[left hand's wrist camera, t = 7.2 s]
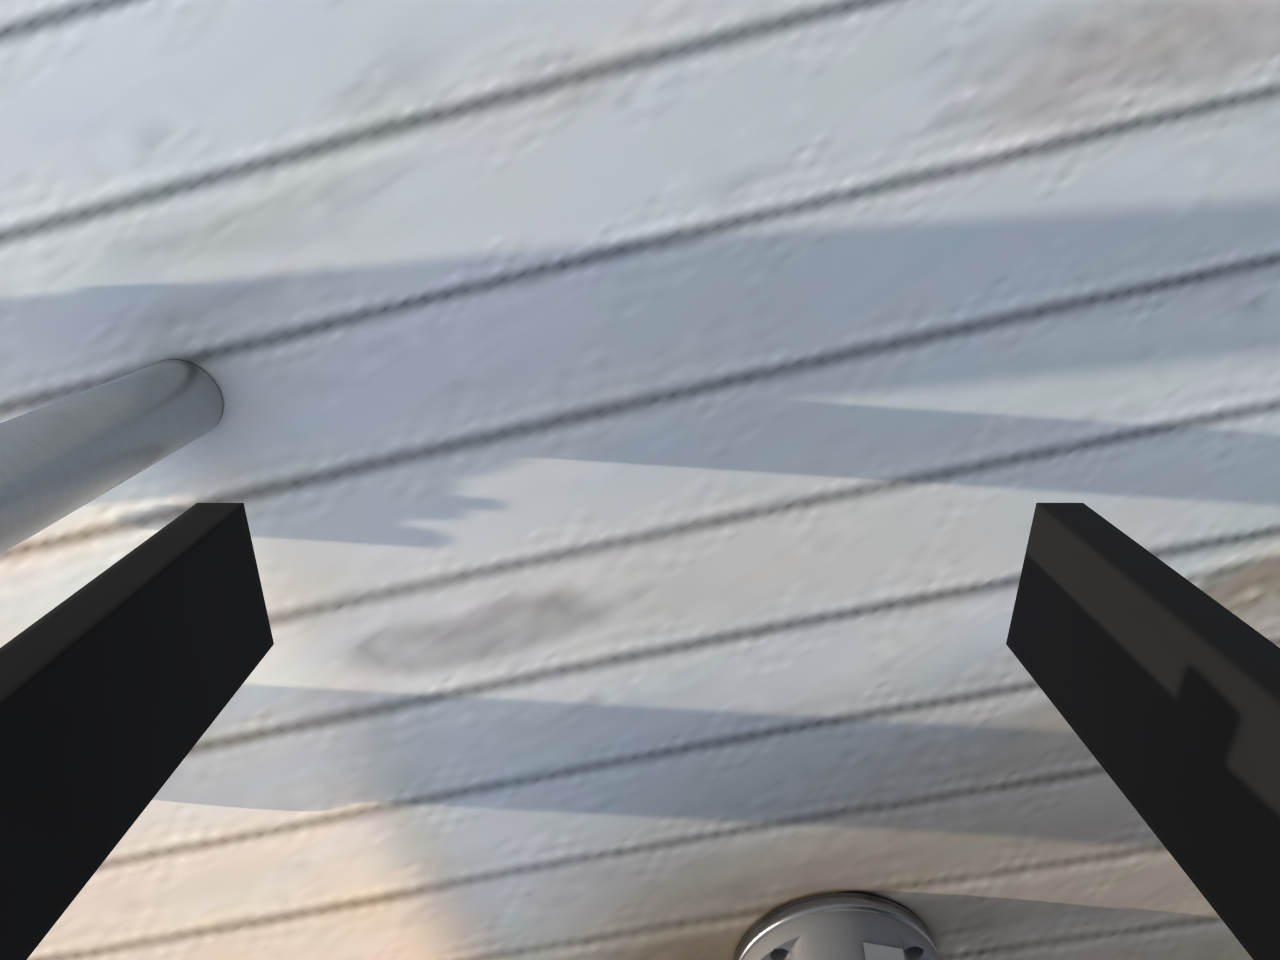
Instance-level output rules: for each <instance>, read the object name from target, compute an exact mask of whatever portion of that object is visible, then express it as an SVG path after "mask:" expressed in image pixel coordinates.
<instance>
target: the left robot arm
mask: <svg viewBox="0 0 1280 960" xmlns="http://www.w3.org/2000/svg"><path fill="white" fill-rule="evenodd" d="M273 644H274V643H273V638H272V634H271V629H270V624H269V620H268V615H267V610H266V606H265V601H264V596H263V592H262V587H261V582H260V578H259V573H258V568H257V564H256V559H255V555H254V550H253V545H252V541H251V536H250V531H249V527H248V522H247V517H246V513H245V508H244V503H196V504H195V505H194V506H192V507H191V508H190V509H188V510H187V511H186V512H184V513H183V514H182V515H180V516H179V517H177V518H176V519H175V520H173V521H172V522H171V523H169V524H168V525H167V526H165V527H164V528H163V529H161V530H160V531H159V532H157V533H156V534H154V535H153V536H152V537H150V538H149V539H148V540H146V541H145V542H144V543H142V544H141V545H140V546H138V547H137V548H135V549H134V550H133V551H131V552H130V553H129V554H127V555H126V556H125V557H123V558H122V559H121V560H119V561H118V562H116V563H115V564H114V565H112V566H111V567H110V568H108V569H107V570H106V571H104V572H103V573H102V574H100V575H99V576H98V577H96V578H95V579H93V580H92V581H91V582H89V583H88V584H87V585H85V586H84V587H83V588H81V589H80V590H79V591H77V592H76V593H74V594H73V595H72V596H70V597H69V598H68V599H66V600H65V601H64V602H62V603H61V604H60V605H58V606H57V607H55V608H54V609H53V610H51V611H50V612H49V613H47V614H46V615H45V616H43V617H42V618H41V619H39V620H38V621H37V622H35V623H34V624H32V625H31V626H30V627H28V628H27V629H26V630H24V631H23V632H22V633H20V634H19V635H18V636H16V637H15V638H13V639H12V640H11V641H9V642H8V643H7V644H5V645H4V646H3V647H1V648H0V960H27V958H28V957H29V956H30V955H31V953H32V952H33V951H34V949H35V948H36V947H37V946H38V944H39V943H40V942H41V940H42V939H43V938H44V937H45V935H46V934H47V933H48V932H49V930H50V929H51V928H52V926H53V925H54V924H55V923H56V921H57V920H58V919H59V917H60V916H61V915H62V914H63V912H64V911H65V910H66V909H67V907H68V906H69V905H70V903H71V902H72V901H73V900H74V898H75V897H76V896H77V895H78V893H79V892H80V891H81V889H82V888H83V887H84V886H85V884H86V883H87V882H88V880H89V879H90V878H91V877H92V875H93V874H94V873H95V872H96V870H97V869H98V868H99V866H100V865H101V864H102V863H103V861H104V860H105V859H106V857H107V856H108V855H109V854H110V852H111V851H112V850H113V849H114V847H115V846H116V845H117V843H118V842H119V841H120V840H121V838H122V837H123V836H124V835H125V833H126V832H127V831H128V829H129V828H130V827H131V826H132V824H133V823H134V822H135V820H136V819H137V818H138V817H139V815H140V814H141V813H142V812H143V810H144V809H145V808H146V806H147V805H148V804H149V803H150V801H151V800H152V799H153V797H154V796H155V795H156V794H157V792H158V791H159V790H160V789H161V787H162V786H163V785H164V783H165V782H166V781H167V780H168V778H169V777H170V776H171V774H172V773H173V772H174V771H175V769H176V768H177V767H178V766H179V764H180V763H181V762H182V760H183V759H184V758H185V757H186V755H187V754H188V753H189V752H190V750H191V749H192V748H193V746H194V745H195V744H196V743H197V741H198V740H199V739H200V737H201V736H202V735H203V734H204V732H205V731H206V730H207V729H208V727H209V726H210V725H211V723H212V722H213V721H214V720H215V718H216V717H217V716H218V714H219V713H220V712H221V711H222V709H223V708H224V707H225V706H226V704H227V703H228V702H229V700H230V699H231V698H232V697H233V695H234V694H235V693H236V691H237V690H238V689H239V688H240V686H241V685H242V684H243V683H244V681H245V680H246V679H247V677H248V676H249V675H250V674H251V672H252V671H253V670H254V669H255V667H256V666H257V665H258V663H259V662H260V661H261V660H262V658H263V657H264V656H265V654H266V653H267V652H268V651H269V649H270V648H271V647H272V646H273ZM1006 644H1007V646H1008V647H1009V648H1010V649H1011V651H1012V652H1013V653H1014V654H1015V656H1016V657H1017V658H1018V660H1019V661H1020V662H1021V663H1022V665H1023V666H1024V667H1025V669H1026V670H1027V671H1028V672H1029V674H1030V675H1031V676H1032V677H1033V679H1034V680H1035V681H1036V683H1037V684H1038V685H1039V686H1040V688H1041V689H1042V690H1043V691H1044V693H1045V694H1046V695H1047V697H1048V698H1049V699H1050V700H1051V702H1052V703H1053V704H1054V706H1055V707H1056V708H1057V709H1058V711H1059V712H1060V713H1061V714H1062V716H1063V717H1064V718H1065V720H1066V721H1067V722H1068V723H1069V725H1070V726H1071V727H1072V729H1073V730H1074V731H1075V732H1076V734H1077V735H1078V736H1079V737H1080V739H1081V740H1082V741H1083V743H1084V744H1085V745H1086V746H1087V748H1088V749H1089V750H1090V752H1091V753H1092V754H1093V755H1094V757H1095V758H1096V759H1097V760H1098V762H1099V763H1100V764H1101V766H1102V767H1103V768H1104V769H1105V771H1106V772H1107V773H1108V774H1109V776H1110V777H1111V778H1112V780H1113V781H1114V782H1115V783H1116V785H1117V786H1118V787H1119V789H1120V790H1121V791H1122V792H1123V794H1124V795H1125V796H1126V797H1127V799H1128V800H1129V801H1130V803H1131V804H1132V805H1133V806H1134V808H1135V809H1136V810H1137V812H1138V813H1139V814H1140V815H1141V817H1142V818H1143V819H1144V820H1145V822H1146V823H1147V824H1148V826H1149V827H1150V828H1151V829H1152V831H1153V832H1154V833H1155V835H1156V836H1157V837H1158V838H1159V840H1160V841H1161V842H1162V843H1163V845H1164V846H1165V847H1166V849H1167V850H1168V851H1169V852H1170V854H1171V855H1172V856H1173V857H1174V859H1175V860H1176V861H1177V863H1178V864H1179V865H1180V866H1181V868H1182V869H1183V870H1184V872H1185V873H1186V874H1187V875H1188V877H1189V878H1190V879H1191V880H1192V882H1193V883H1194V884H1195V886H1196V887H1197V888H1198V889H1199V891H1200V892H1201V893H1202V895H1203V896H1204V897H1205V898H1206V900H1207V901H1208V902H1209V903H1210V905H1211V906H1212V907H1213V909H1214V910H1215V911H1216V912H1217V914H1218V915H1219V916H1220V917H1221V919H1222V920H1223V921H1224V923H1225V924H1226V925H1227V926H1228V928H1229V929H1230V930H1231V932H1232V933H1233V934H1234V935H1235V937H1236V938H1237V939H1238V940H1239V942H1240V943H1241V944H1242V946H1243V947H1244V948H1245V949H1246V951H1247V952H1248V953H1249V955H1250V956H1251V957H1252V958H1253V960H1280V648H1279V647H1277V646H1276V645H1275V644H1273V643H1272V642H1271V641H1269V640H1268V639H1267V638H1265V637H1264V636H1262V635H1261V634H1260V633H1258V632H1257V631H1256V630H1254V629H1253V628H1252V627H1250V626H1249V625H1248V624H1246V623H1245V622H1243V621H1242V620H1241V619H1239V618H1238V617H1237V616H1235V615H1234V614H1233V613H1231V612H1230V611H1229V610H1227V609H1226V608H1225V607H1223V606H1222V605H1220V604H1219V603H1218V602H1216V601H1215V600H1214V599H1212V598H1211V597H1210V596H1208V595H1207V594H1206V593H1204V592H1203V591H1201V590H1200V589H1199V588H1197V587H1196V586H1195V585H1193V584H1192V583H1191V582H1189V581H1188V580H1187V579H1185V578H1184V577H1182V576H1181V575H1180V574H1178V573H1177V572H1176V571H1174V570H1173V569H1172V568H1170V567H1169V566H1168V565H1166V564H1165V563H1164V562H1162V561H1161V560H1159V559H1158V558H1157V557H1155V556H1154V555H1153V554H1151V553H1150V552H1149V551H1147V550H1146V549H1145V548H1143V547H1142V546H1140V545H1139V544H1138V543H1136V542H1135V541H1134V540H1132V539H1131V538H1130V537H1128V536H1127V535H1126V534H1124V533H1123V532H1121V531H1120V530H1119V529H1117V528H1116V527H1115V526H1113V525H1112V524H1111V523H1109V522H1108V521H1107V520H1105V519H1104V518H1103V517H1101V516H1100V515H1098V514H1097V513H1096V512H1094V511H1093V510H1092V509H1090V508H1089V507H1088V506H1086V505H1085V504H1084V503H1036V508H1035V513H1034V517H1033V522H1032V527H1031V531H1030V536H1029V541H1028V545H1027V550H1026V555H1025V559H1024V564H1023V568H1022V573H1021V578H1020V582H1019V587H1018V592H1017V596H1016V601H1015V606H1014V610H1013V615H1012V620H1011V624H1010V629H1009V634H1008V638H1007V643H1006ZM733 960H940V957H939V954H938V952H937V949H936V946H935V944H934V941H933V939H932V936H931V934H930V932H929V931H928V929H927V928H926V926H925V925H924V924H923V922H922V921H921V920H920V919H919V918H918V917H917V916H915V915H914V914H913V913H912V912H910V911H909V910H907V909H906V908H904V907H902V906H900V905H899V904H896V903H894V902H892V901H889V900H886V899H883V898H880V897H876V896H872V895H866V894H859V893H828V894H820V895H815V896H810V897H806V898H802V899H799V900H796V901H793V902H790V903H788V904H786V905H783V906H781V907H779V908H777V909H775V910H773V911H772V912H770V913H769V914H767V915H765V916H764V917H763V918H761V919H760V920H759V921H757V922H756V923H755V924H754V925H753V926H752V927H751V928H750V929H749V930H748V931H747V933H746V934H745V935H744V937H743V938H742V939H741V941H740V943H739V945H738V946H737V949H736V951H735V954H734V958H733Z"/></svg>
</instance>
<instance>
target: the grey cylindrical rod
mask: <svg viewBox="0 0 1280 960" xmlns="http://www.w3.org/2000/svg"><path fill="white" fill-rule="evenodd" d="M222 412H223V400H222V396H221V392H220V390H219V388H218V386H217V384H216V383H215V381H214V380H213V379H212V378H211V376H210V375H209V374H208V373H206V372H205V371H204V370H203V369H201V368H200V367H198V366H196V365H195V364H192V363H190V362H187V361H183V360H175V359H172V360H165V361H161V362H159V363H156V364H154V365H151V366H148V367H146V368H143V369H141V370H138V371H135V372H133V373H130V374H128V375H125V376H122V377H120V378H117V379H115V380H112V381H110V382H107V383H104V384H102V385H99V386H97V387H94V388H91V389H89V390H86V391H84V392H81V393H78V394H76V395H73V396H71V397H68V398H65V399H63V400H60V401H58V402H55V403H53V404H50V405H47V406H45V407H42V408H40V409H37V410H34V411H32V412H29V413H27V414H24V415H21V416H19V417H16V418H14V419H11V420H8V421H6V422H3V423H1V424H0V555H1V554H2V553H4V552H6V551H7V550H9V549H11V548H12V547H14V546H16V545H17V544H19V543H21V542H23V541H24V540H26V539H28V538H29V537H31V536H33V535H34V534H36V533H38V532H39V531H41V530H43V529H45V528H46V527H48V526H50V525H51V524H53V523H55V522H56V521H58V520H60V519H61V518H63V517H65V516H67V515H68V514H70V513H72V512H73V511H75V510H77V509H78V508H80V507H82V506H83V505H85V504H87V503H89V502H90V501H92V500H94V499H95V498H97V497H99V496H100V495H102V494H104V493H105V492H107V491H109V490H111V489H112V488H114V487H116V486H117V485H119V484H121V483H122V482H124V481H126V480H127V479H129V478H131V477H133V476H134V475H136V474H138V473H139V472H141V471H143V470H144V469H146V468H148V467H150V466H151V465H153V464H155V463H156V462H158V461H160V460H161V459H163V458H165V457H166V456H168V455H170V454H172V453H173V452H175V451H177V450H178V449H180V448H182V447H183V446H185V445H187V444H188V443H190V442H192V441H194V440H195V439H197V438H199V437H200V436H202V435H204V434H205V433H207V432H209V431H210V430H212V429H213V428H214V427H215V426H216V425H217V424H218V422H219V420H220V418H221V416H222Z"/></svg>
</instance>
